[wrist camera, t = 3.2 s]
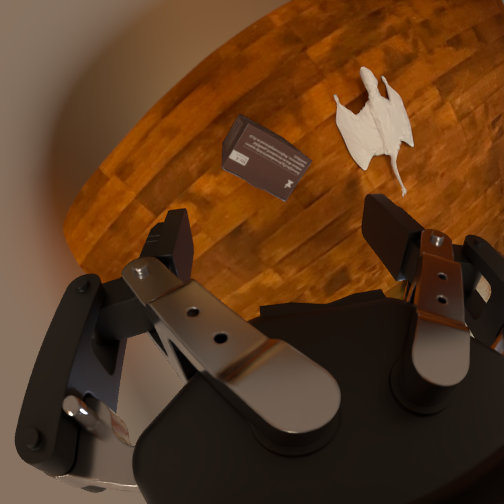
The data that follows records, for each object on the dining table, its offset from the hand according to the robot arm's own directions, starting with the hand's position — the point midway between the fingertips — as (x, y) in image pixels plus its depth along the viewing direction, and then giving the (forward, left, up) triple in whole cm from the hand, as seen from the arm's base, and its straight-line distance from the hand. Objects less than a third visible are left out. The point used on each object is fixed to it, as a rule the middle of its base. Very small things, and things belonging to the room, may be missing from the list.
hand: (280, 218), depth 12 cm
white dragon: (+17, 0, -22) cm, 28 cm away
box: (+1, -1, -22) cm, 22 cm away
